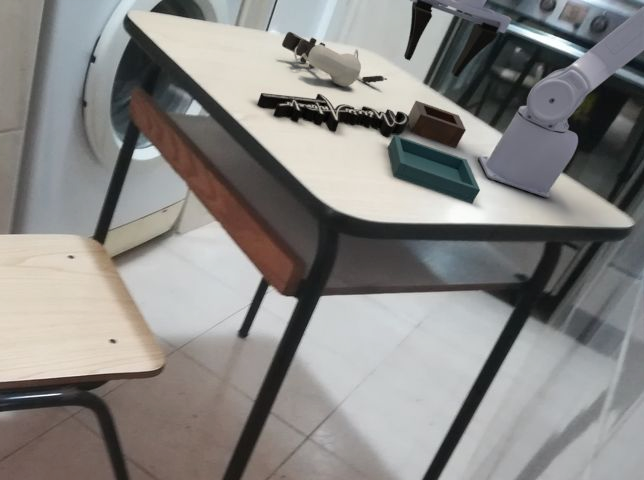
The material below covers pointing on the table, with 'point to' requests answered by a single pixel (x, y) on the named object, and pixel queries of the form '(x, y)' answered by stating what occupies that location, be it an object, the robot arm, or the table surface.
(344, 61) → the clip-on lamp
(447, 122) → the frame
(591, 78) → the robot arm
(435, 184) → the holder
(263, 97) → the nameplate
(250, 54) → the table surface
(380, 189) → the table surface
